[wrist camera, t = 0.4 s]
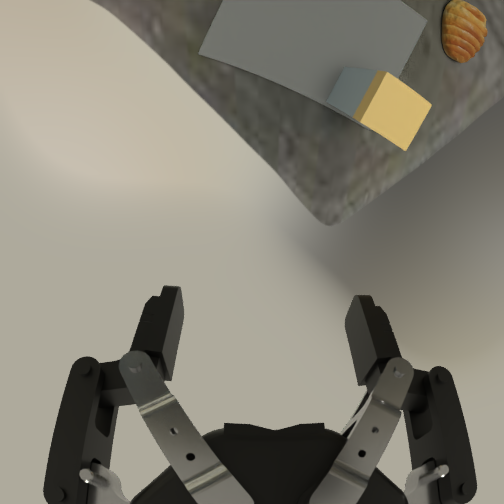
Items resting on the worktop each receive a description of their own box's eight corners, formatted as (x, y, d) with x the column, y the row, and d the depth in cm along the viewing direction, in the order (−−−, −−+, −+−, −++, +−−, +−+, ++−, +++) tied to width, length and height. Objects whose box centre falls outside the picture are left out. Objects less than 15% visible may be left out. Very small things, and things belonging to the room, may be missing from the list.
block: (344, 66, 28) (387, 71, 18) (379, 88, 29) (431, 104, 19) (326, 101, 31) (359, 122, 21) (361, 121, 32) (405, 151, 22)
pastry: (465, 71, 26) (482, 75, 23) (429, 46, 25) (445, 46, 22) (479, 21, 21) (496, 22, 18) (444, -6, 20) (460, -9, 17)
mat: (262, -65, 18) (262, -67, 18) (425, 20, 23) (427, 20, 23) (198, 54, 28) (197, 54, 27) (368, 129, 33) (369, 130, 32)
